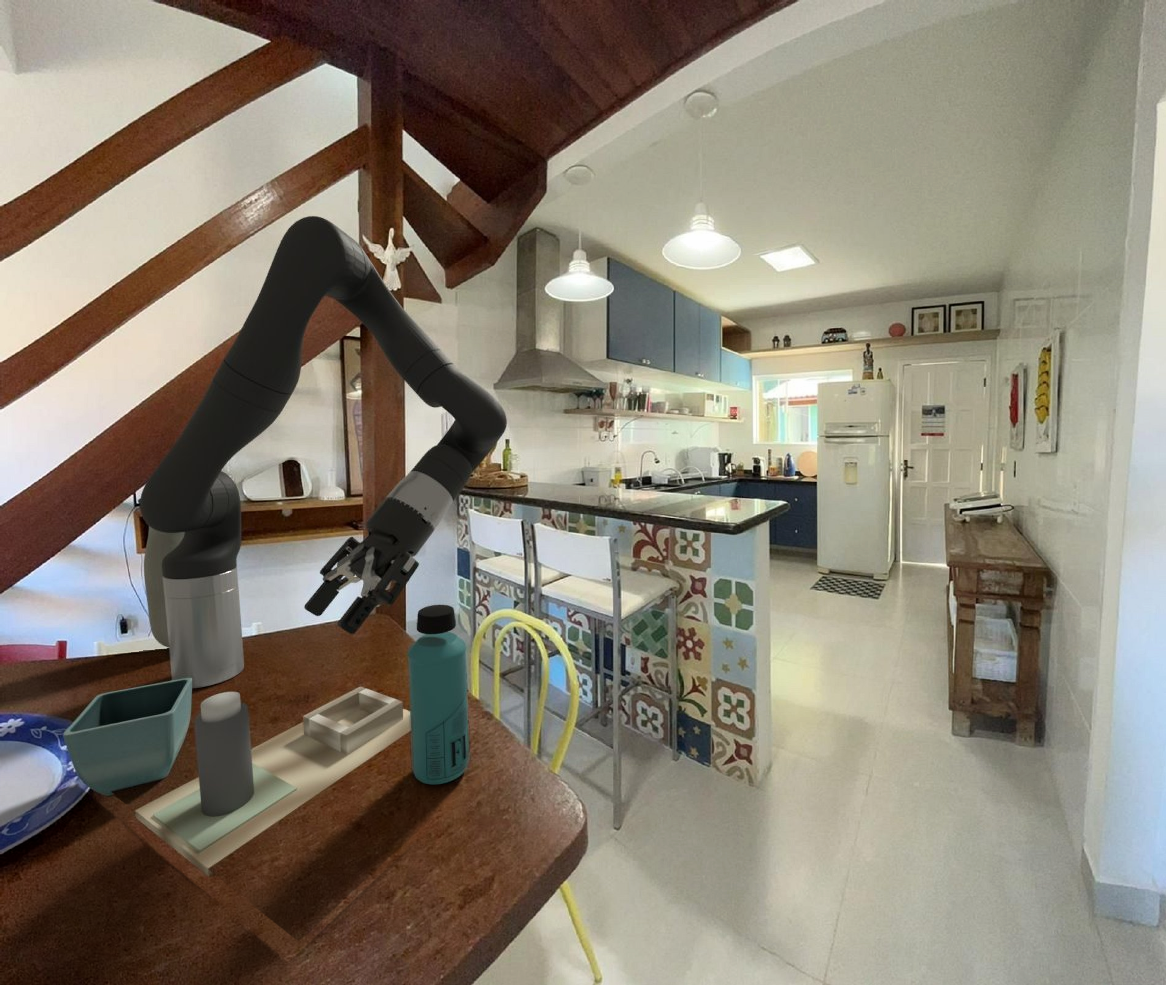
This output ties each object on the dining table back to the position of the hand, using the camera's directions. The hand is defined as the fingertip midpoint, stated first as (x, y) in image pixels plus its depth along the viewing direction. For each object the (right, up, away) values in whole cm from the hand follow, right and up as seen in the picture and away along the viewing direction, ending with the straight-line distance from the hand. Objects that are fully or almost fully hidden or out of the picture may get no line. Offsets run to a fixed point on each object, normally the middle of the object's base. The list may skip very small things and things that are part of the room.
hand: (327, 621), depth 57 cm
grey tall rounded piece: (-43, -13, +32) cm, 55 cm away
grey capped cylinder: (-7, -17, -7) cm, 19 cm away
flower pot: (-20, -17, -2) cm, 27 cm away
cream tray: (-3, -17, +1) cm, 17 cm away
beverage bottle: (+14, -18, -1) cm, 22 cm away
